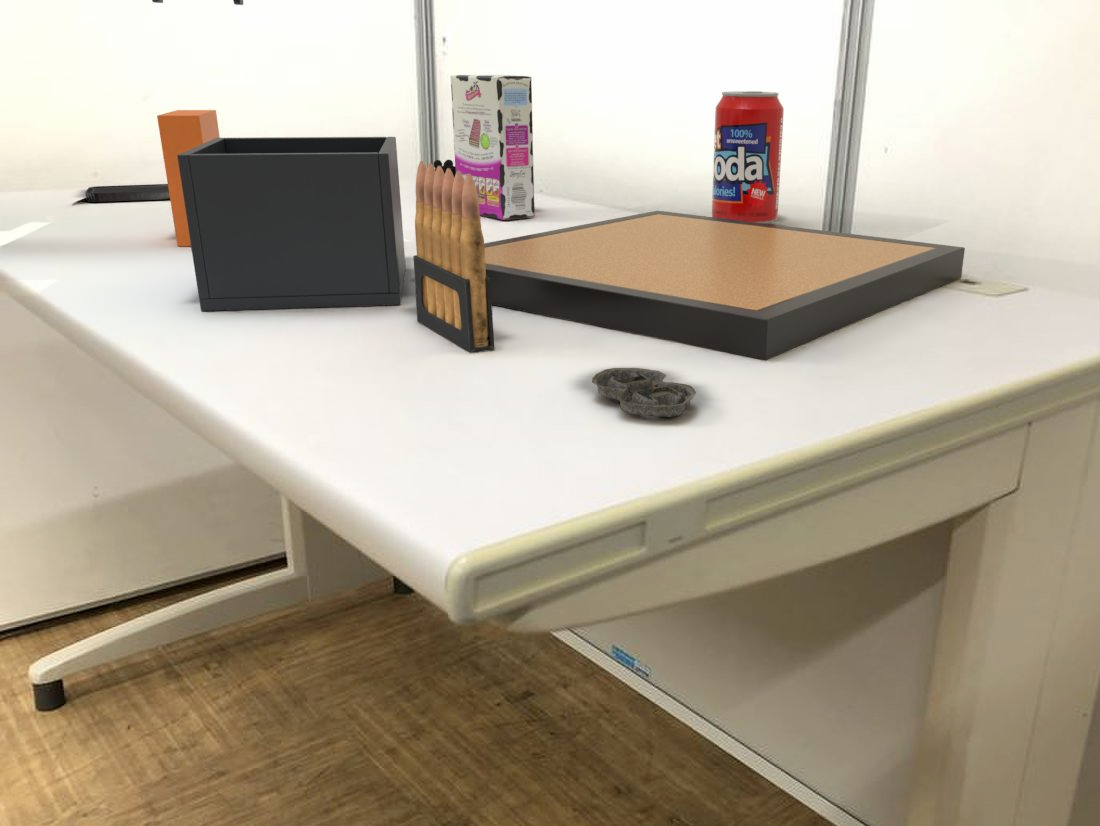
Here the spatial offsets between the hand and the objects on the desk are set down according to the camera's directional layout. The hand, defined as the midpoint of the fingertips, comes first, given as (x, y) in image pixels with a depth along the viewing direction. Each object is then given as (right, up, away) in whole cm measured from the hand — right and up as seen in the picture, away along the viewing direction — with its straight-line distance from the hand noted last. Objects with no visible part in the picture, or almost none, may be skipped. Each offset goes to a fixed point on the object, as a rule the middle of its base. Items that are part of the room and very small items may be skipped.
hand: (198, 3), depth 117 cm
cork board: (+54, -35, -22) cm, 68 cm away
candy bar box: (+31, -20, +16) cm, 40 cm away
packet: (+2, -27, -2) cm, 27 cm away
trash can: (+20, -36, -25) cm, 48 cm away
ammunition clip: (+35, -42, -39) cm, 67 cm away
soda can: (+62, -22, +10) cm, 66 cm away
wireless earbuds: (+22, -14, +29) cm, 39 cm away
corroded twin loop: (+49, -48, -53) cm, 87 cm away
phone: (-18, -14, +27) cm, 36 cm away
